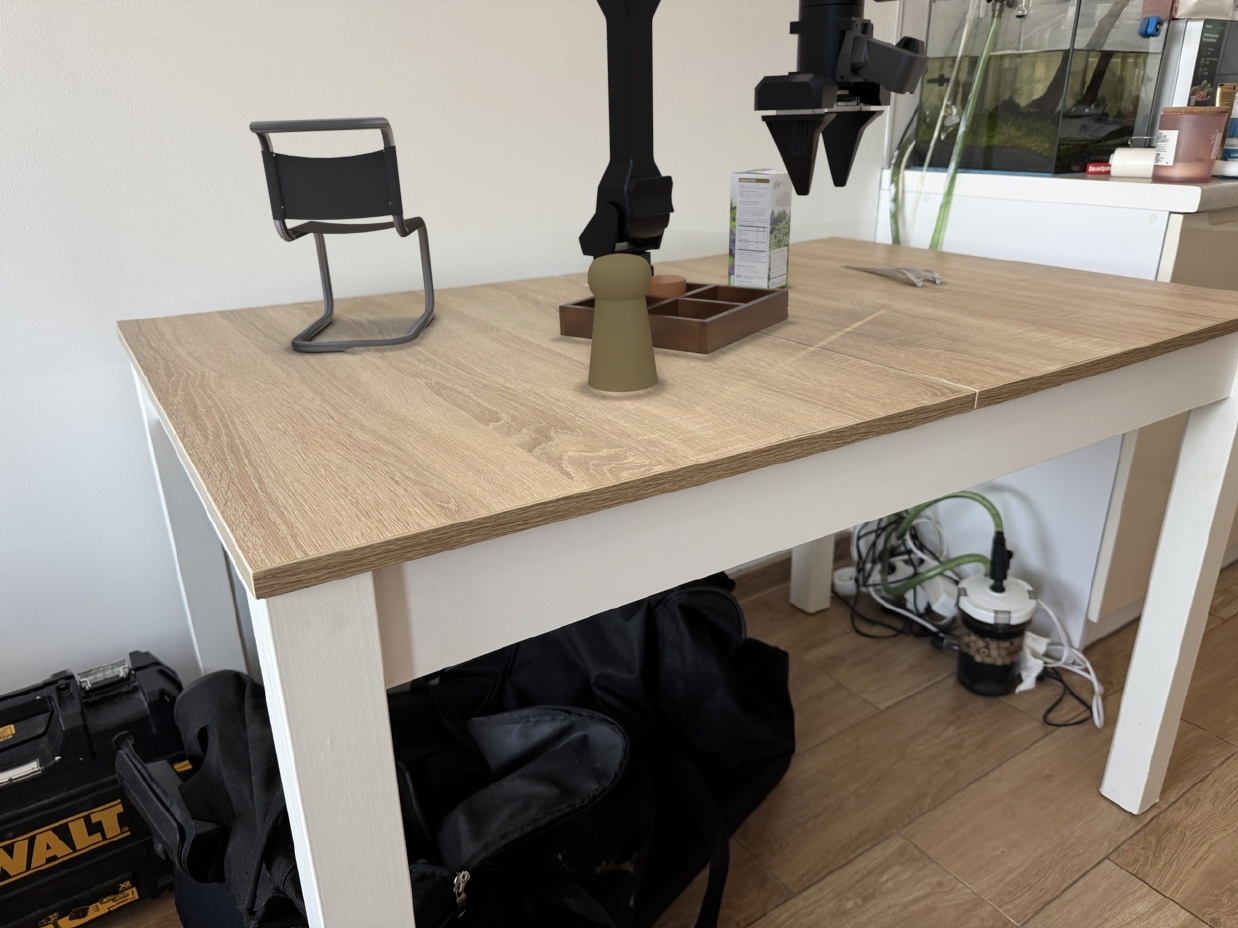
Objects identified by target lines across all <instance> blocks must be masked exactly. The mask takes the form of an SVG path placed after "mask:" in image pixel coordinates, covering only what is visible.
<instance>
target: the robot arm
mask: <svg viewBox="0 0 1238 928" xmlns="http://www.w3.org/2000/svg"><path fill="white" fill-rule="evenodd" d="M661 1H662V0H596V3H597V4H598V7H599V8H600V11H601V12H602V14H603V16H604V19H605V26H606V62H607V63H606V65H607V66H606V67H607V101H608V106H607V107H608V137H609V138H608V139H609V143H608V144H609V145H608V146H609V159H608V160H609V161H608V164H607V166H606V168H605V169H604V172H603V175H602V176H601V178H600V181H599V183H598V185H597V190H596V191H597V192H596V199H595V212H594V214H593V215H592V216H591V218H590V219H589V221H588V223H587V224H586V226H584V228H583V230H582V231H581V232H580V235H579V236H578V242H579V246H580V250H581V254H582V255H583V256H585V257H586V256H587V257H592V261H594V260H595V259H596V258H599V257H602V256H606V255H611V254H632V255H637V256H641V257H642V258H644V259H646V260H647V262H648V264H649V265H650V268H651V272H652V276H655V266H654V265H653V264H652V252H651V251H652V250H654V251H656V250H657V251H658V250H660V249H661V245H662V242H663V237H664V233H665V230H666V229H667V228H668V227H669V225H670V220H671V214H673V213H675V208H674V205H673V189H674V188H673V187H674V181H673V177H672V176H671V175H670V174H669V175H662V173H661V171H660V169H659V167H658V165H657V162H656V161H655V153H654V152H655V151H654V145H655V144H654V143H655V142H654V53H653V52H654V47H653V46H654V45H653V43H654V41H653V40H654V39H653V34H654V33H653V22H654V16H655V15H656V12H657V10H658V8H659V6H660V3H661ZM873 1H874V2H875V3H888V2H896V1H899V0H873ZM865 3H866V0H798V12H797V14H798V15H797V20H795V21H793V20H792V21H789V33H788V34H789V35H793V36H794V35H795V36H797V38H796V39H797V41H796V43H797V45H796V46H797V47H796V65H795V66H796V67H795V71H788V72H787V74H780V75H778V74H777V75H775V74H774V75H764V76H763V77H762V78H761V80H760V81H759V82H758V83H757V84H756V86H755V87H754V97H753V98H754V100H753V111H754V112H761V111H762V112H763V111H764V112H765V111H767V112H768V111H775V114H761V115H760V119H761V122H764V123H765V125H766V127H767V129H768V131H769V133H770V135H771V137H772V140H773V142H774V144H775V146H776V149H777V151H778V153H779V155H780V158H781V160H782V162H783V164H784V167H785V170H787V172H788V175H789V177H790V179H791V182H792V188H793V189H794V191H795V194H796V195H797V196H798V197H799V196H801V197H806V196H809V195H810V193H811V188H812V185H813V184H812V183H813V178H814V173H815V167H816V160H817V154H818V150H819V149H818V148H819V142H820V136H821V138H822V143H823V147H824V151H825V156H826V160H827V165H828V168H829V173H830V177H831V181H832V183H833V187H834V188H845V187H847V184H848V181H849V177H850V174H851V172H852V169H853V165H854V162H855V159H856V156H857V154H858V150H859V146H860V144H861V141H862V138H863V136H864V134H865V131H866V129H867V128H868V127H869V126H870V125H871V124H872V123H873V122H874V121H875V120H877V119H878V118H879V117H881V116H882V115H883V114H884V113H885V110H886V109H885V110H884V109H880V110H879V109H878V110H877V109H875V110H873V109H872V107H889V106H890V107H891V99H892V93H895V94H898V95H905V94H906V93H909V95H914V94H915V92H916V89H917V88H918V85H919V82H920V81H921V78H922V77H923V76H925V75H927V74H928V72H929V67H928V61H929V59H930V56H928V55H926V50H925V49H926V48H925V47H926V46H925V41H924V40H921V39H919V38H916V37H913V36H909V35H903V36H902V37H901V39H899V40H898V41H897V42H896V43H895V44H893V43H892V42H887V41H884V40H881V39H877V38H874V29H875V28H874V27H875V26H874V25H875V24H874V23H873V22H872V19H869V18H865V5H866V4H865Z"/></svg>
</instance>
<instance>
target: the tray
mask: <svg viewBox="0 0 1238 928" xmlns="http://www.w3.org/2000/svg"><path fill="white" fill-rule="evenodd" d="M789 292H790V291H789V290H788V289H782V288H773V289H769V288H757V287H745V286H733V285H728V284H720V283H708V282H698V281H697V282H696V281H686V293H685V294H682V295H679V296H676V297H671V296H661V295H650V294H646V295H645V298H646V305H647V311H648V318H649V324H650V331H651V338H652V344H653V349H655V348H656V349H661V350H671V351H678V352H683V353H684V352H686V353H693V354H701V355H709V354H711V353H714V352H716V351H718V350H720V349H723V348H726V347H727V346H729V345H731V344H734V343H737V342H739V341H741V340H744V339H745V338H747V337H750V336H753V335H754V334H756V333H758V332H761V331H763V330H765V329H768V328H770V327H772V326H775V325H776V324H779V323H781V322H783V321H785V320H788V317H789V315H788V314H789ZM594 309H595V296H594V295H590V296H587V297H584V298H581V299H577V300H574V301H570V302H567V303H563V304H560V305H558V315H559V333H560V334H559V335H560V336H564V337H571V338H572V337H573V338H579V339H580V338H581V339H586V340H587V339H588V340H592V332H593V320H594Z"/></svg>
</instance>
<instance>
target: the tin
mask: <svg viewBox="0 0 1238 928" xmlns="http://www.w3.org/2000/svg"><path fill="white" fill-rule="evenodd" d="M686 282H687V278H686V277H685V276H683V275H675V274H656V275H654V276H652V280H651V284H650V289H649V290H648V292H647V293H646V294H650V295H661V296H671V297H676V296H679V295H682V294H685V293H686Z"/></svg>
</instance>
